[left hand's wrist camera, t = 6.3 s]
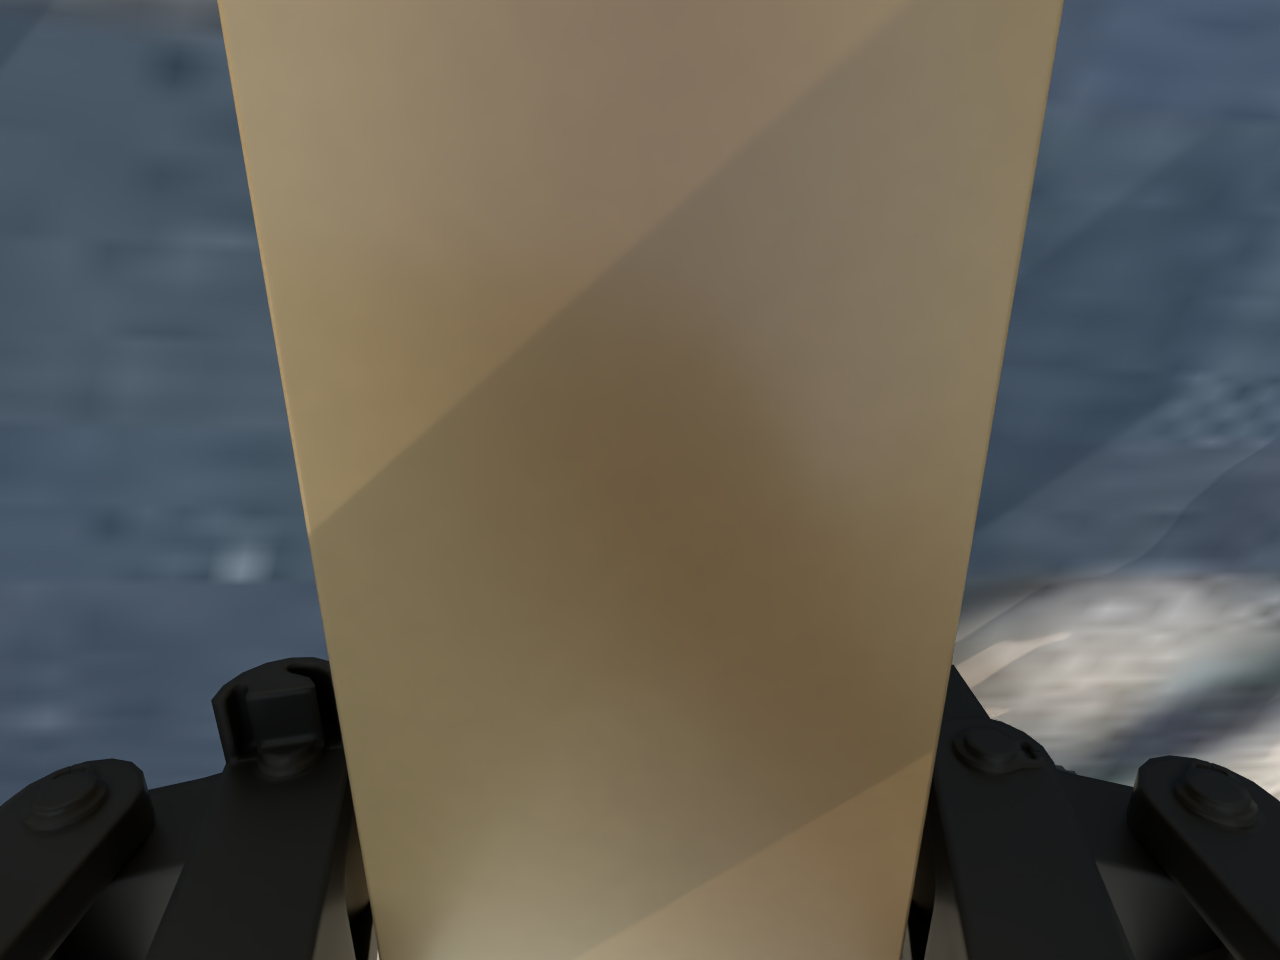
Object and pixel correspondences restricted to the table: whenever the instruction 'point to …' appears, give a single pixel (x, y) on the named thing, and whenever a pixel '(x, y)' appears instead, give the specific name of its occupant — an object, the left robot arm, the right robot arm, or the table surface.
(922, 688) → the birch plank
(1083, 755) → the table surface
